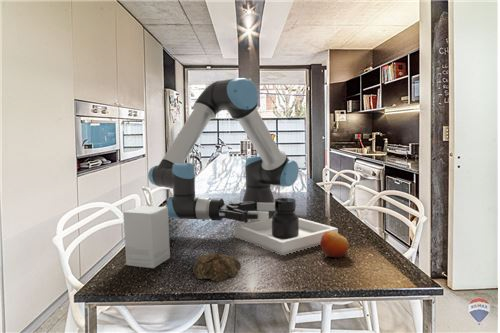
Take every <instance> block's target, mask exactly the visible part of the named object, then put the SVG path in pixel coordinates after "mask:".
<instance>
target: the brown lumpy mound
mask: <svg viewBox="0 0 500 333" xmlns="http://www.w3.org/2000/svg"><path fill="white" fill-rule="evenodd" d="M240 268H241V269H242V266H241V262H240V261H239V260H238V258H236V257H235V256H230V255H227V254H222V253H218V252H213V253H207V254H202V255H201V256H199V257H198V258H197V259H196V261H195V262H194V264H193V267H192V272H193V275H194V278H195V279H197V280H211V281H213V282H223V281H227V280H228V279H230V278H234V277H236V276H237V275H239V270H241V269H240Z"/></svg>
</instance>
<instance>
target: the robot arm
mask: <svg viewBox="0 0 500 333" xmlns="http://www.w3.org/2000/svg"><path fill="white" fill-rule="evenodd" d="M258 95H259V91H258V87H257V86H256V84H254V82H253V81H252V80H250V79H248V78H246V77H241V78H240V77H234V78H232V79H223V80H216V81H213V82H212V83H210V84H209V85H208V86H207V87H205V89H203V91H202V92H201V94H200V95H199V96H198V98H197V99H196V100H195V102H194V103H193V104H192V107H193V110H192V111H191V113H190V115H189V116H188V118H187V119H186V121H185V123H184V124H183V126H182V127H181V129H180V131H179V132H178V134H177V135H176V137H175V138H174V140H173V142H172V143H171V145H170V147H169V148H168V150H167V151H166V153H165V155H164V156H163V158H162V159H161V161H160V162H159V164H158V165H154V166H152V167H151V168H150V169H149V171H148V173H147V177H148V180H149V182H150V183H151V184H152V185H154V186H158V187H161V188H168V189H172V192H173V196H171V197H168V200H166V206H165V207H168V218H171V219H178V220H201V221H202V222H205V221H207V220H208V221H210V220H211V221H219V222H220V221H222V220H223V219H226V220H233V221H237V222H241V223H242V222H243V223H244V224H245V223H249V222H248V221H260V220H261V221H269V219H270V214H269V213H270V212H276V211H275V198H274V195H273V191H272V186H277V187H282V188H284V187H292V186H293V185H294V184H295V183H296V181H297V179H298V176H299V165H298V163H297V161H295V160H293V159H289V157H288V155H287V154H286V153H285V151H281V150H280V149H279V147H278V145H277V143H276V141H275V139H274V138H273V136H272V134H271V133H270V131H269V129H268V127H267V125H266V123H265V121H264V120H263V118H262V116H261V115H260V112H259V110H258V106H259V103H258V102H259V96H258ZM221 111H227V112H228V113H229V115H230V117H231V119H233V120H238V122H239V124H240V126H241V127H242V129H243V131H244V133H245V134H246V136H247V138H248V139H249V141H250V142H251V144H252V146H253V147H254V149H255V151H256V152H257V154H258V155H257V156H250V157H247V158H246V160H245V165H244V166H245V191H244V194H243V198H242V201H238V202H234V201H231V202H229V203H228V202H227V204H226V203H225V201H224V199H223V198H216V197H212V198H211V197H196V179H195V178H196V173H195V165H194V164H193V163H191V162H185V161H186V160H187V158H188V157H189V155H190V153H191V152H192V150H193V149H194V147H195V145H196V144H197V142H198V141H199V138H200V137H201V135H202V134H203V132H204V130H205V129H206V127H207V125H208V124H209V122H210V121H211V120H214V119H215V117H216V115H217V114H218V113H220V112H221Z"/></svg>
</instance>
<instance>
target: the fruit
mask: <svg viewBox="0 0 500 333" xmlns="http://www.w3.org/2000/svg"><path fill="white" fill-rule="evenodd" d="M349 247H350V242H348V239H347V237H345V236H343V235H342V234H341V233H339V232H338V233H336V232H334V231H333V232H329V231H328V232H325V233H324V234H323V236H322V238H321V242H320V249H321V251H322V253H323V254H324V257H323V258H324V259H326V258H327V257H332V258H343V257H344V256H345V255H346V254H347V252H348V250H349Z"/></svg>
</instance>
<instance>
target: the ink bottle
mask: <svg viewBox="0 0 500 333" xmlns="http://www.w3.org/2000/svg"><path fill="white" fill-rule="evenodd" d="M296 202H297V201H296V199H295V198H290V197H281V198H280V197H278V198H274V203H275V211H274V213H272V215H271V218H272V235H273V236H274V237H276V238H282V239H289V238H294V237H297V236H298V235H299V218H300V217H299V214H297V213H296V209H297V208H296V204H297V203H296Z"/></svg>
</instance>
